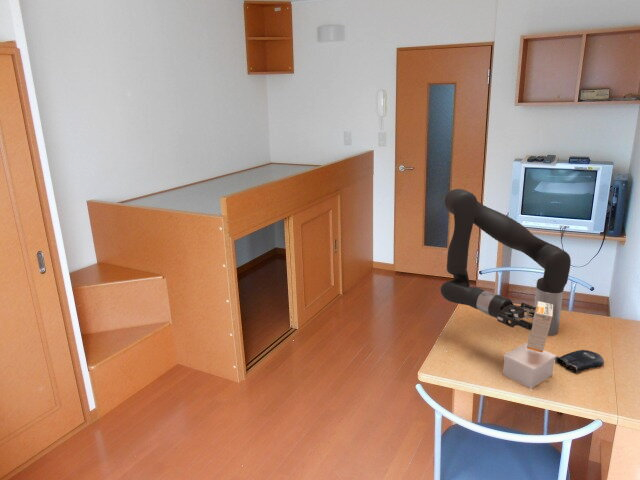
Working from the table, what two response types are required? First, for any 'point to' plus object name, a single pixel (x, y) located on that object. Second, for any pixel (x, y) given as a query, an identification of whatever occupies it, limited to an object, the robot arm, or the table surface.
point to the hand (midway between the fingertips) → (539, 323)
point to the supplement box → (540, 326)
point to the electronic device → (580, 360)
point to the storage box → (528, 365)
